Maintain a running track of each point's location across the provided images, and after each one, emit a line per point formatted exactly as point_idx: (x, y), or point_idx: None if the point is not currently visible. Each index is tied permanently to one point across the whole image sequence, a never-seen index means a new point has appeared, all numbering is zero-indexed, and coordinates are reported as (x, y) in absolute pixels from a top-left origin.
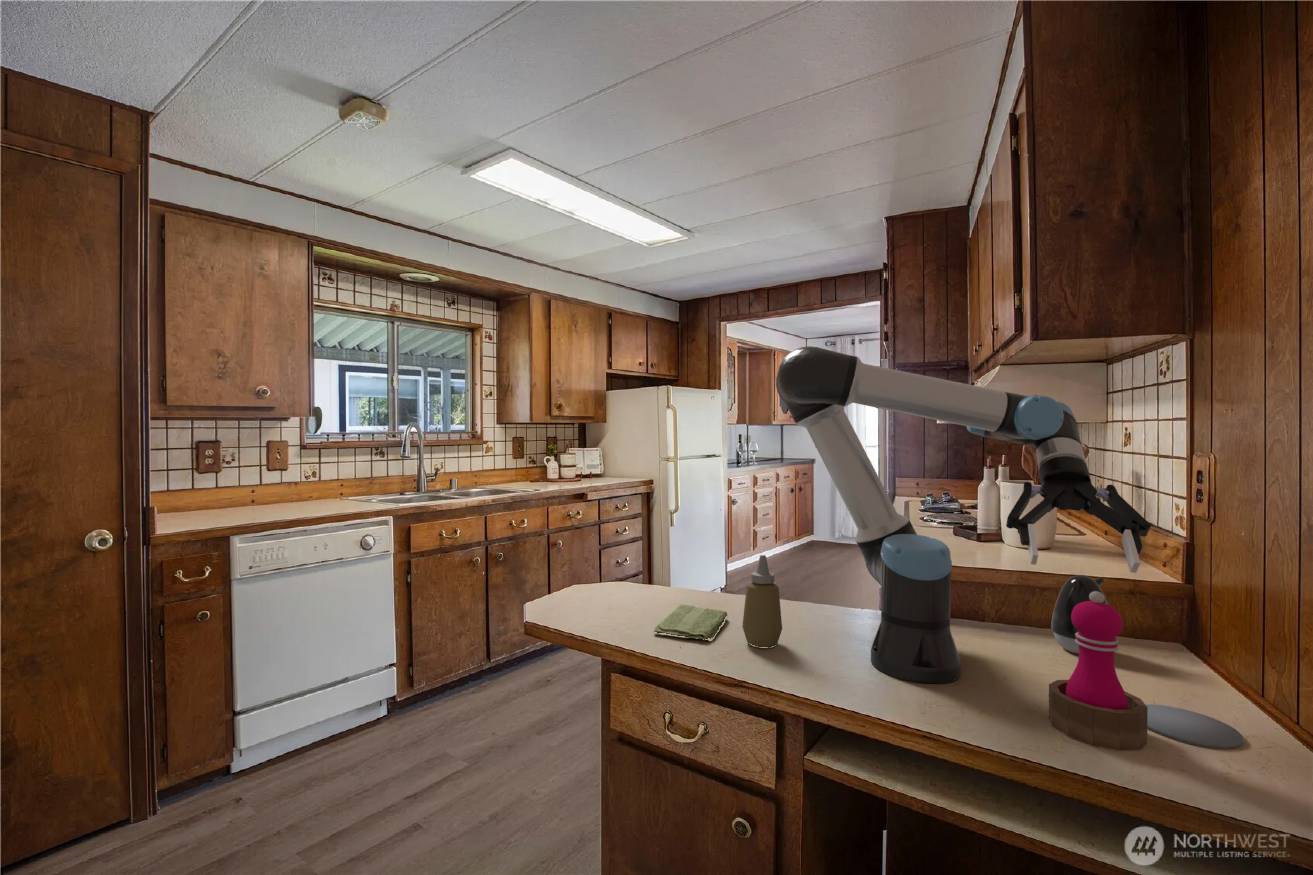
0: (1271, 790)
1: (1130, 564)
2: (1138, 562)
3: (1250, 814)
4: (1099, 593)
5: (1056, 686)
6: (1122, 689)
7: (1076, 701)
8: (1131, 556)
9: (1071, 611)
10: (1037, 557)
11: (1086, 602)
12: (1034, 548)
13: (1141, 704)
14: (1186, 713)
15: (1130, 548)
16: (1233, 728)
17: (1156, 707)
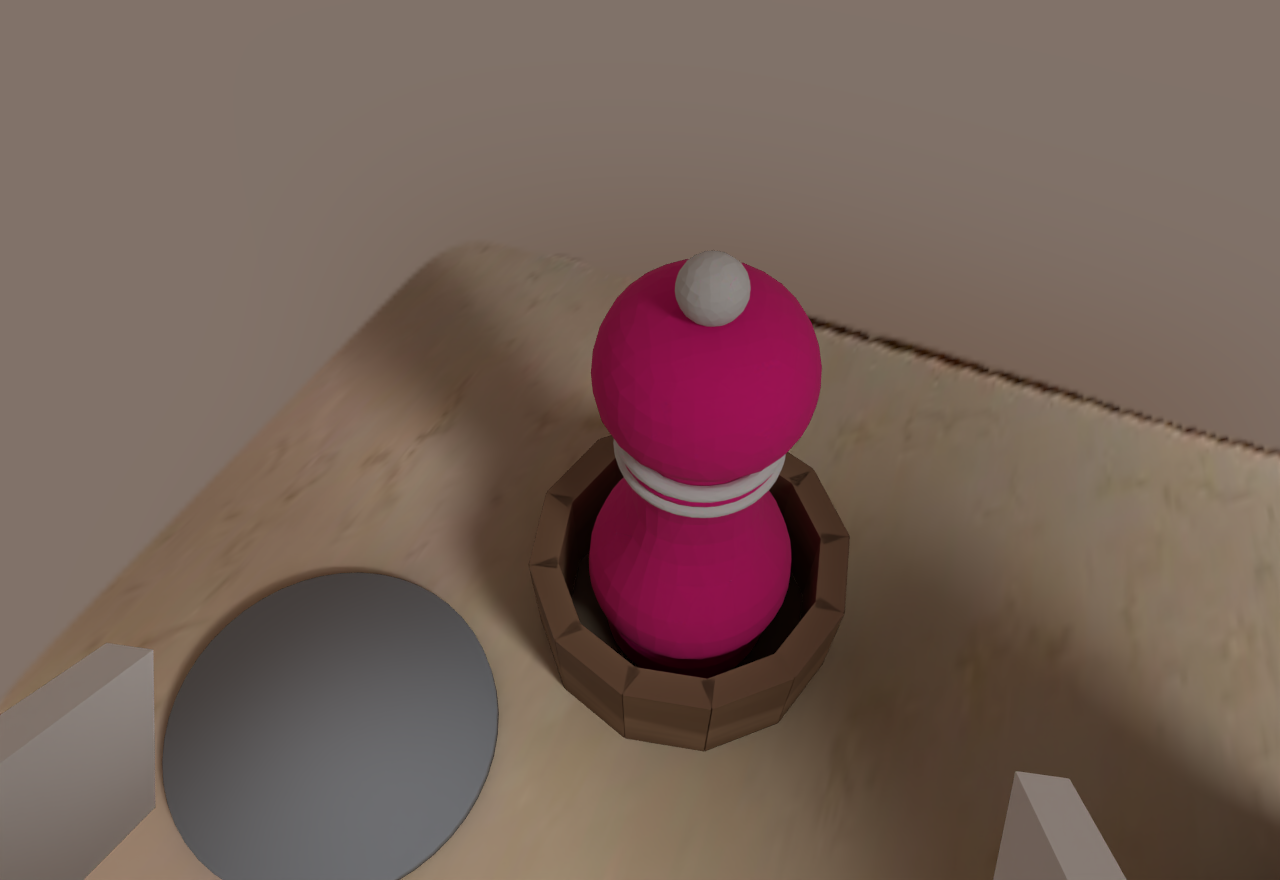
0: (375, 379)
1: (120, 787)
2: (119, 646)
3: (511, 270)
4: (707, 252)
5: (818, 600)
6: (617, 485)
7: (786, 471)
8: (90, 731)
9: None
10: (1010, 805)
11: (760, 318)
12: (1071, 834)
13: (555, 511)
14: (252, 833)
15: (33, 737)
16: (168, 728)
17: (344, 865)
